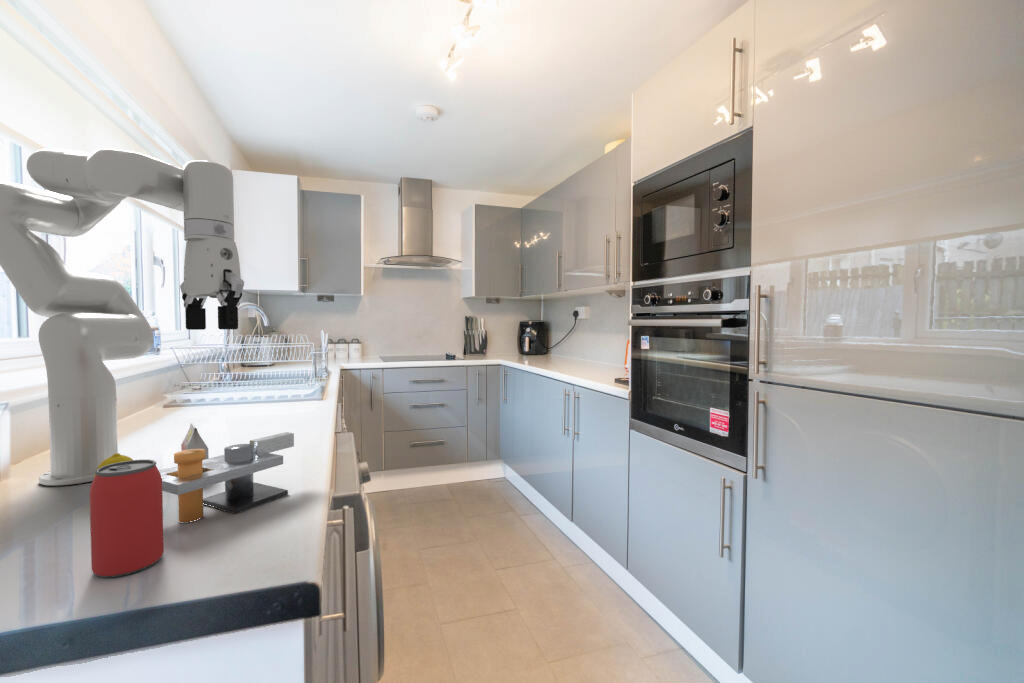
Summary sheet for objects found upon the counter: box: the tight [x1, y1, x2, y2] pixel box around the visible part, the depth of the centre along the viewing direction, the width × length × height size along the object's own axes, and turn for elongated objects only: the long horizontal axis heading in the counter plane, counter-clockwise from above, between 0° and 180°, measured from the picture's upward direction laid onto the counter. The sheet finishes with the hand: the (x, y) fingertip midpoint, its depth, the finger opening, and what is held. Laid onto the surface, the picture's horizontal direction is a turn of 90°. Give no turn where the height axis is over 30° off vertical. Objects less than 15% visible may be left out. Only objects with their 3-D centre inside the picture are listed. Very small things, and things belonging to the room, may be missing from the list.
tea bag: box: [180, 422, 210, 460], centre depth 87 cm, size 4×7×10 cm, turn 40°
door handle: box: [159, 431, 295, 515], centre depth 73 cm, size 10×21×9 cm, turn 153°
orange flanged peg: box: [173, 449, 205, 523], centre depth 68 cm, size 4×4×10 cm
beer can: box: [89, 459, 165, 578], centre depth 54 cm, size 7×7×12 cm
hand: (211, 329), depth 82 cm, fingers open, 9 cm apart
